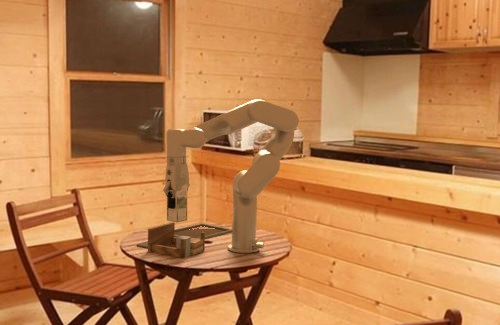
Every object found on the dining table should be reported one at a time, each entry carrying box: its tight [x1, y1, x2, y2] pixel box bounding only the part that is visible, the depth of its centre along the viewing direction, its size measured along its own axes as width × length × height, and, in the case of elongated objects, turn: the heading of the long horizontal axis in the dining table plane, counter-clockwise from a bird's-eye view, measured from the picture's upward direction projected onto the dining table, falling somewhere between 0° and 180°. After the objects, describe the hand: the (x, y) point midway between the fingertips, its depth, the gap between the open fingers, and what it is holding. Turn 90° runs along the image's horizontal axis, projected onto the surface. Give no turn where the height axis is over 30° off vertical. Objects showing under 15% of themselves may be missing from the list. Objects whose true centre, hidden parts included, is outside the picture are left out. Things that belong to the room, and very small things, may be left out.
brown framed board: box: [174, 222, 232, 240], centre depth 259 cm, size 19×2×30 cm
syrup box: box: [166, 185, 188, 223], centre depth 226 cm, size 6×6×14 cm
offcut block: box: [175, 236, 191, 258], centre depth 221 cm, size 4×4×7 cm
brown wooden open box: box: [147, 221, 206, 259], centre depth 227 cm, size 16×16×9 cm
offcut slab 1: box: [191, 238, 203, 250], centre depth 226 cm, size 5×6×2 cm
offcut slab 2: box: [190, 246, 204, 256], centre depth 226 cm, size 5×6×2 cm
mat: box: [136, 240, 148, 249], centre depth 234 cm, size 7×7×1 cm
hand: (177, 206), depth 226 cm, fingers closed on syrup box, 6 cm apart
